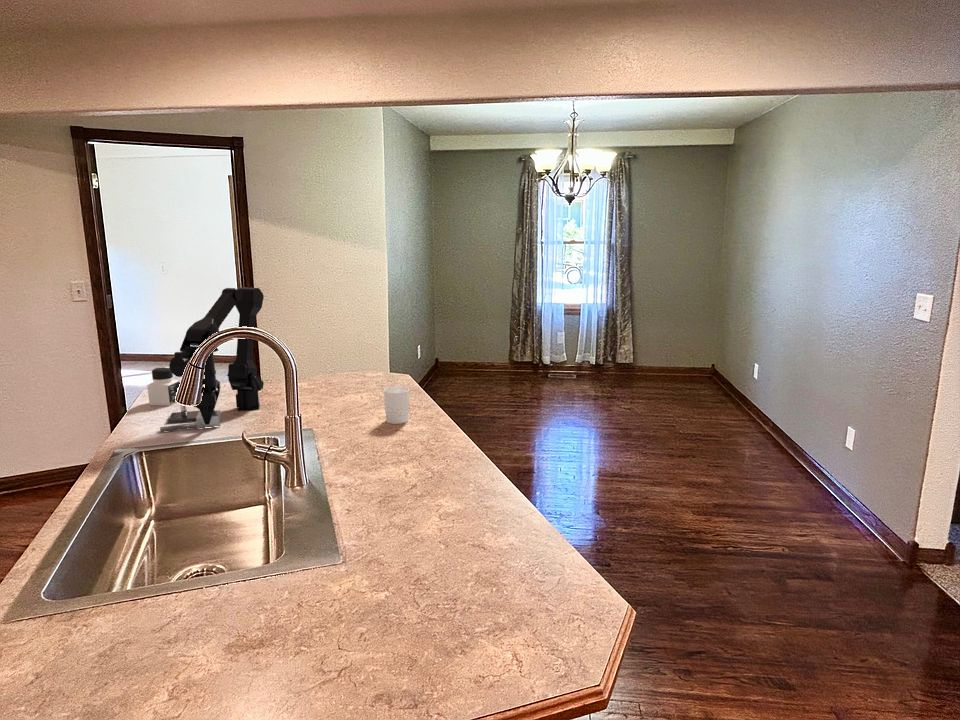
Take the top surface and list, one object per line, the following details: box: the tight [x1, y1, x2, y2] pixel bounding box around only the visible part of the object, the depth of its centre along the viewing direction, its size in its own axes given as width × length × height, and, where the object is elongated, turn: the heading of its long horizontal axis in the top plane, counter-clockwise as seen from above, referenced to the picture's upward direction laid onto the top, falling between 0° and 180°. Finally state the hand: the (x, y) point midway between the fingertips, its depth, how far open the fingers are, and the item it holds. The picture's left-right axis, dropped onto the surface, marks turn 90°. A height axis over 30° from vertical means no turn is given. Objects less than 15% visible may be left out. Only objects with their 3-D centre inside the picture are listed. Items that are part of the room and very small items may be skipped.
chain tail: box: [159, 422, 195, 433], centre depth 176 cm, size 9×2×1 cm, turn 116°
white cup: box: [383, 385, 410, 425], centre depth 185 cm, size 8×8×10 cm
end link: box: [195, 409, 222, 429], centre depth 180 cm, size 6×6×4 cm
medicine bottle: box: [146, 366, 180, 407], centre depth 202 cm, size 7×7×12 cm
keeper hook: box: [167, 405, 200, 424], centre depth 186 cm, size 8×8×5 cm
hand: (209, 419), depth 180 cm, fingers open, 9 cm apart
